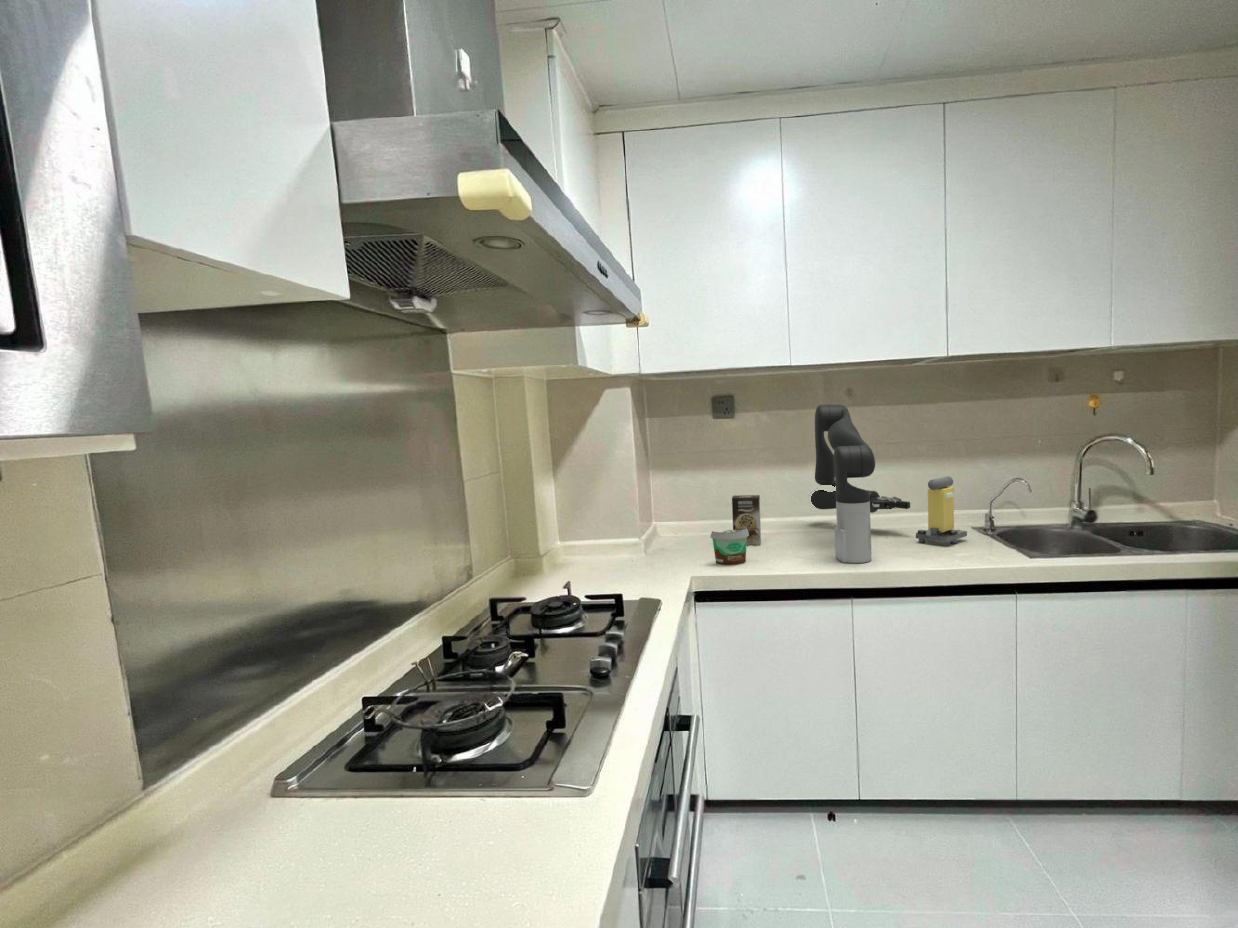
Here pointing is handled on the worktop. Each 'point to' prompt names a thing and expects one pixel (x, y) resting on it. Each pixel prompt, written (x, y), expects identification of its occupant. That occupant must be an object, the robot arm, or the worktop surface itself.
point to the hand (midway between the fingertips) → (909, 505)
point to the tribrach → (940, 535)
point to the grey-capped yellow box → (941, 504)
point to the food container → (730, 546)
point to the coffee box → (747, 516)
